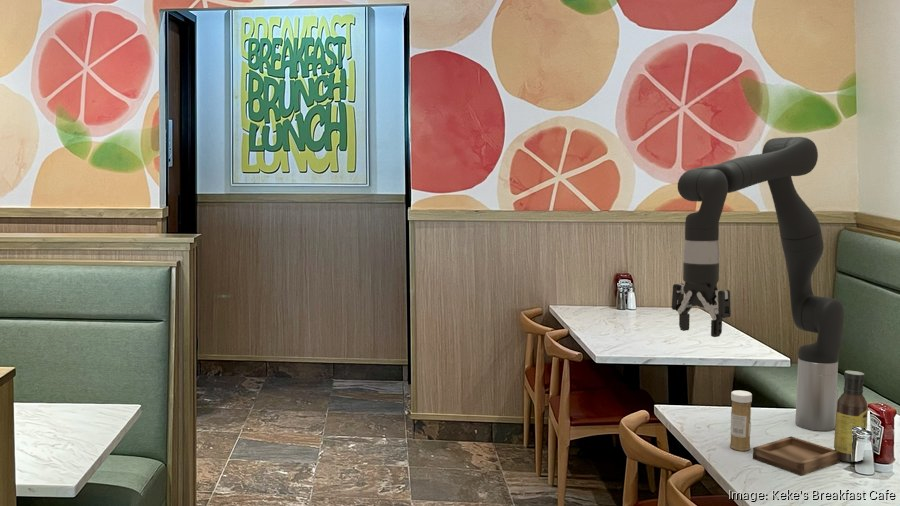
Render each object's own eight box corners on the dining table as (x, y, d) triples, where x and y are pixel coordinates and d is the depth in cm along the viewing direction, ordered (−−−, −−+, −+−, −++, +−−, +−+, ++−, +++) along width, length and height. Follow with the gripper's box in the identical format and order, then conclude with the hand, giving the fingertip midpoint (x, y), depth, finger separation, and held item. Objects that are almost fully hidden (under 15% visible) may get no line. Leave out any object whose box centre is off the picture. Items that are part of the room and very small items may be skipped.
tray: (790, 446, 182) (791, 436, 182) (839, 462, 172) (839, 451, 172) (752, 458, 175) (753, 447, 174) (801, 475, 165) (801, 464, 164)
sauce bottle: (867, 465, 170) (874, 377, 168) (836, 462, 172) (842, 374, 170) (860, 455, 176) (867, 370, 174) (830, 452, 178) (836, 368, 176)
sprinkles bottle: (754, 449, 181) (756, 393, 179) (742, 453, 178) (744, 396, 177) (737, 443, 184) (739, 388, 183) (725, 447, 182) (727, 391, 181)
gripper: (739, 262, 165) (737, 336, 166) (687, 256, 177) (686, 326, 179) (716, 264, 161) (714, 341, 163) (664, 259, 173) (663, 330, 175)
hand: (699, 333), depth 171 cm, fingers open, 8 cm apart
